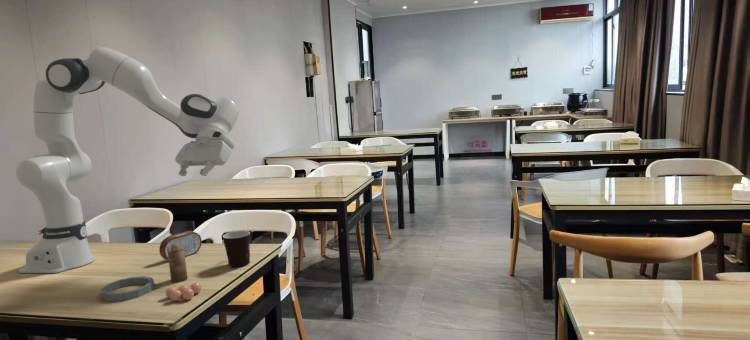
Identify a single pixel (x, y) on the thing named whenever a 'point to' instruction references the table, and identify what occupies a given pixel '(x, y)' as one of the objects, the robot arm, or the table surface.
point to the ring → (128, 294)
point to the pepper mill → (177, 263)
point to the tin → (181, 243)
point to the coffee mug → (237, 248)
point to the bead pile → (183, 292)
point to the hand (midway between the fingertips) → (191, 175)
